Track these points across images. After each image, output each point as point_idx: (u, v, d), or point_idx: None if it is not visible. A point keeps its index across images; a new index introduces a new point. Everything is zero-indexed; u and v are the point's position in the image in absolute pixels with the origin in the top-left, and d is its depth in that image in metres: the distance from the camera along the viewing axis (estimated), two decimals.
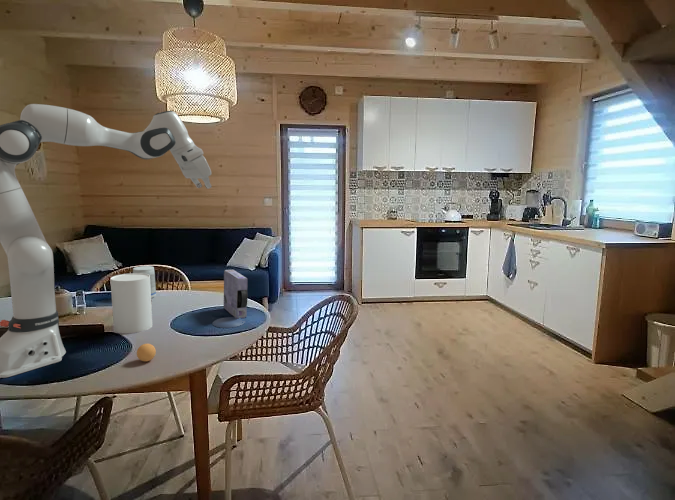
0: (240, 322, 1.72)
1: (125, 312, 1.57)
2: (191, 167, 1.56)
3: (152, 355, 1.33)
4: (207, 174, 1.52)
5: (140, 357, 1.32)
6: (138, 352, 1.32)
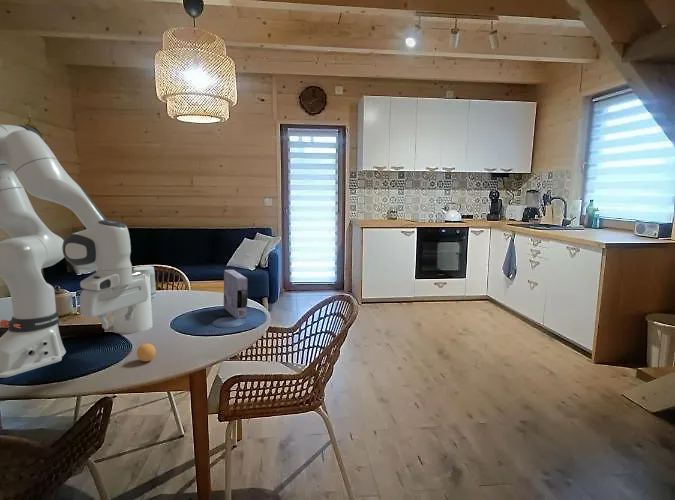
0: (240, 322, 1.72)
1: (125, 312, 1.57)
2: None
3: (152, 355, 1.33)
4: (84, 314, 1.14)
5: (140, 357, 1.32)
6: (138, 352, 1.32)
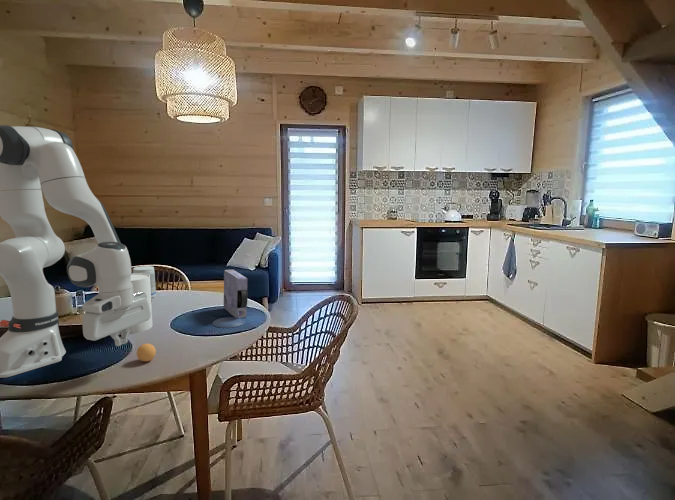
0: (240, 322, 1.72)
1: None
2: None
3: (152, 355, 1.33)
4: (87, 337, 1.15)
5: (140, 357, 1.32)
6: (138, 352, 1.32)
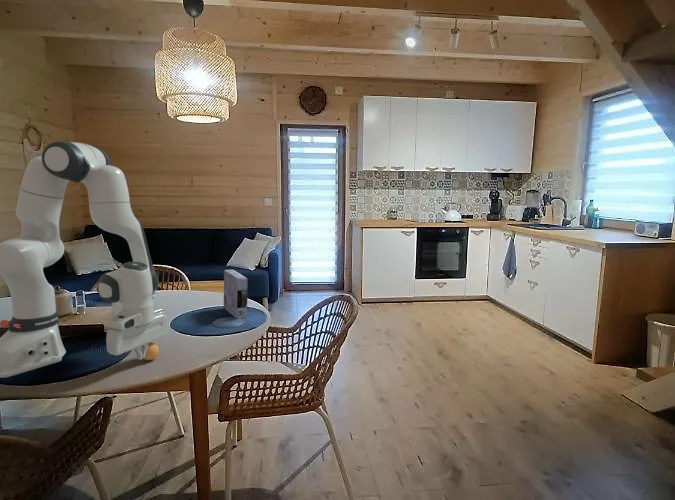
0: (240, 322, 1.72)
1: None
2: None
3: (156, 354, 1.34)
4: (110, 352, 1.22)
5: None
6: None
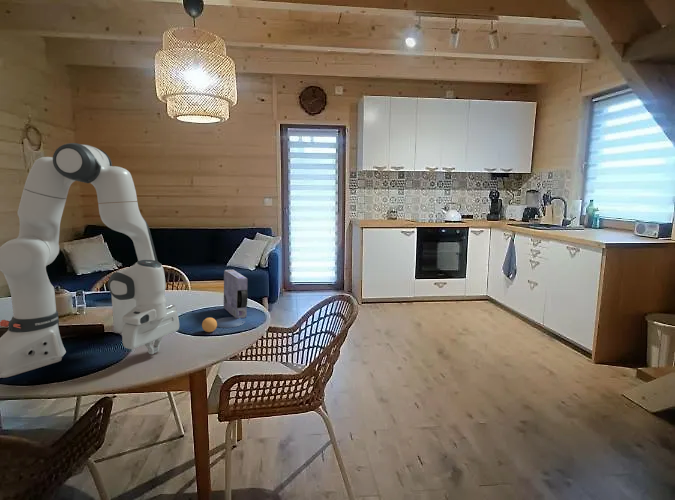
0: (240, 322, 1.72)
1: (125, 312, 1.57)
2: None
3: (215, 324, 1.60)
4: (126, 346, 1.27)
5: None
6: None
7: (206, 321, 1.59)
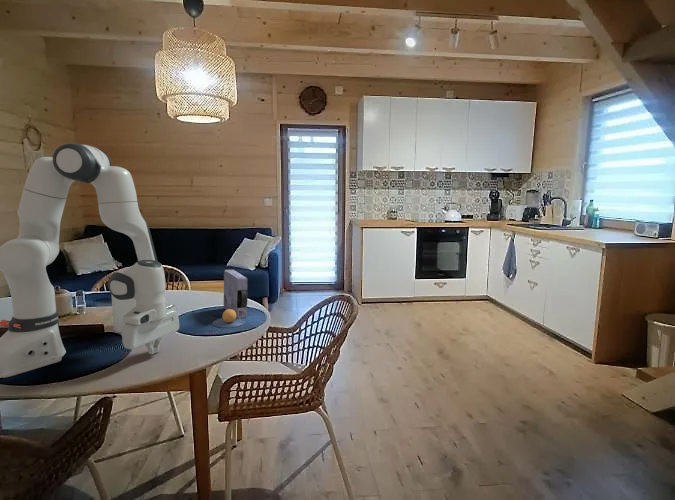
0: (240, 322, 1.72)
1: (125, 312, 1.57)
2: None
3: (234, 317, 1.71)
4: (126, 346, 1.27)
5: (230, 309, 1.71)
6: None
7: (228, 322, 1.71)
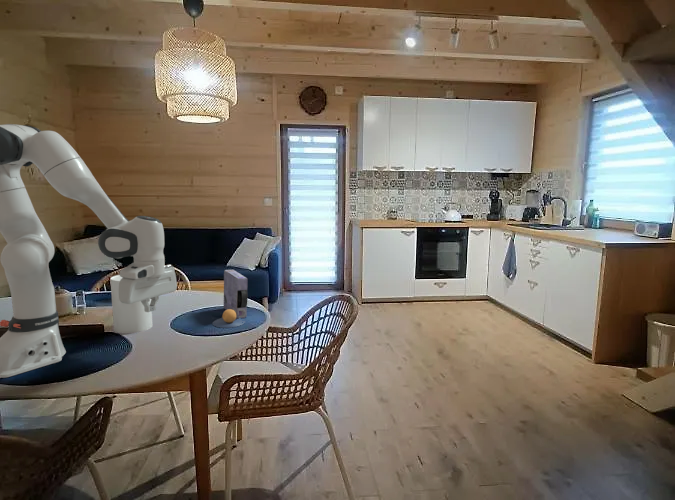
0: (240, 322, 1.72)
1: (125, 312, 1.57)
2: None
3: (234, 317, 1.71)
4: (123, 301, 1.25)
5: (230, 309, 1.72)
6: None
7: (228, 322, 1.71)
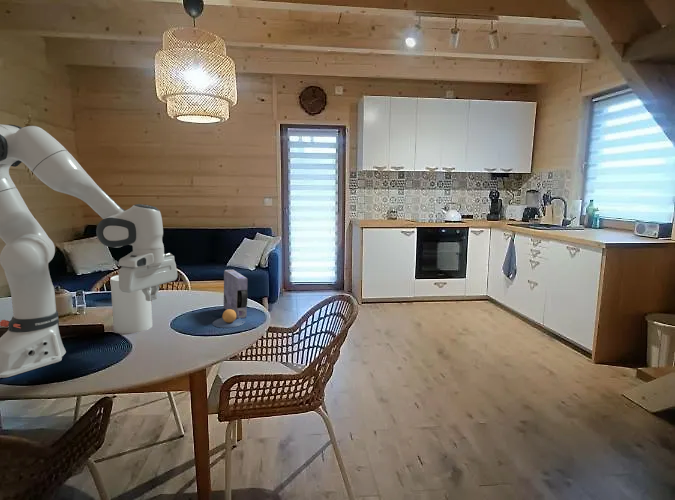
0: (240, 322, 1.72)
1: (125, 312, 1.57)
2: None
3: (234, 317, 1.71)
4: (123, 289, 1.25)
5: (230, 309, 1.72)
6: None
7: (228, 322, 1.71)
